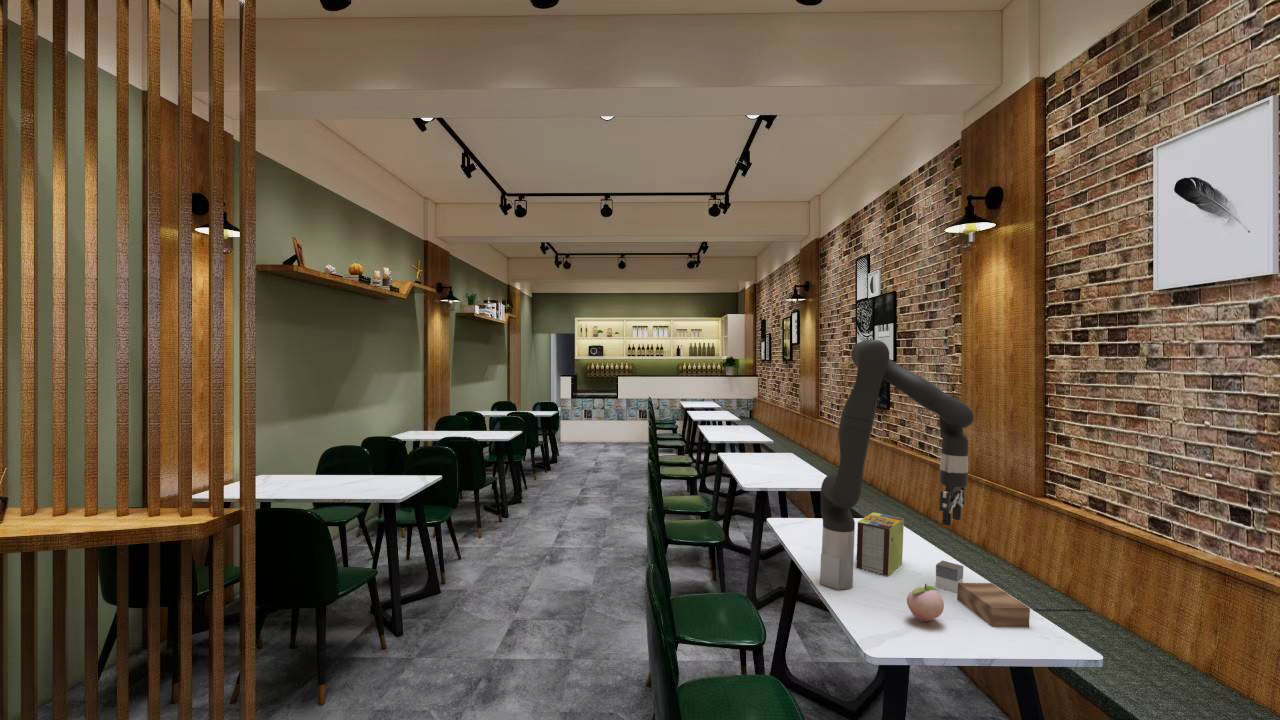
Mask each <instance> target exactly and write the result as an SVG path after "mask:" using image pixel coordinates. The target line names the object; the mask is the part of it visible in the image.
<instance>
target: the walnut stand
mask: <svg viewBox="0 0 1280 720" xmlns="http://www.w3.org/2000/svg"><path fill="white" fill-rule="evenodd" d="M956 594H957V597H956V598H957V599H956V600H957V602H959V603H961V604H962V606H965V608H967V609H969V610H970V611H971V612H972V613H974V614H975V615H976V616H978V617H979V618H981V620H983V621H984V622H985V623H986V624H988V625H989V626H990V627H997V628H998V627H1006V628H1008V627H1009V628H1011V627H1012V628H1015V627H1017V628H1030V617H1031V615H1030V614H1031V608H1030V607H1029V606H1027V605H1026V604H1024V603H1022V601H1020V600H1019V599H1017V598H1015V597H1014V596H1012V595H1010V594H1009V593H1007V591H1005V590H1003V589H1001V588H1000V587H998V586H997V585H995V584H994V583H991V582H989V583H988V582H963V583H958V591H957V593H956Z"/></svg>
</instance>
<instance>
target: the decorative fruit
mask: <svg viewBox="0 0 1280 720" xmlns="http://www.w3.org/2000/svg"><path fill="white" fill-rule="evenodd" d="M906 604H907V607H908V609H909V610H910V612H911V613H912V615H913V616H915V617H916V618H917V619H918V620H921V621H922V622H927V621H932V620H935V619H937V618H939V617H940V616H942V614H943V612H944V610H945V609H944V607H945V603H944V599H943V597H942V595H941V594H940V593H939V592H938V589H937V587H934V586H932V585H927V583H925V584H924V586H920V587H919V586H918V587H917V588H915V589H912V590H911V591H909V593H908V595H907V597H906Z"/></svg>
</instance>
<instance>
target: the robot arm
mask: <svg viewBox="0 0 1280 720" xmlns="http://www.w3.org/2000/svg"><path fill="white" fill-rule="evenodd" d="M850 358H851V360H852V362H853V364H854V365H855V366H856V367H857V370H856V371H857V373H856V378H855V381H854V382H855V383H854V386H853V387H852V390H851V392H850V394H849V395H848V398H847V400H846V402H845V404H844V406H843V409H842V412H841V417H840V421H839V425H838V435H837V436H838V445H839V456H840V457H839V464H838V469H837V472H832V473H830V474H828V475H826V476H825V478H823V481H822V483H821V487H820V514H821V519H822V538H821V541H822V542H821V553H820V567H819V568H820V569H819V571H820V574H819V584H820V585H822V584H823V586H826V587H828V588H831V589H834V590H837V591H840V590H848V589H851V588H852V587H853V582H854V555H855V554H854V553H855V534H856V533H855V531H856V529H855V527H856V522H855V519H854V517H853V515H852V512H851V509H852V508H854V507H855V506H856V505H857V503H858V502H859V500H860V497H861V493H862V483H863V474H864V468H865V466H864V465H865V462H866V457H867V452H868V448H869V442H870V438H871V434H872V430H873V427H874V426H873V425H874V421H875V415H876V409H877V405H878V399H879V394H880V390H881V385H882V382H883V380H884V381H885V382H887V383H889V384H890V385H892V386H893V387H895V388H896V389H897V390H899V391H900V392H902V393H903V394H904V395H906V396H907V397H909V398H910V399H911V400H913V401H914V402H916V403H917V404H919V405H920V406H921V407H924V408H925V409H927V410H928V411H931V412H932V413H935V414H936V415H938V421H939V422H938V423H939V429H940V434H941V438H942V439H941V440H942V441H941V456H940V461H939V462H940V463H939V479H938V480H939V483H940V484H941V485H942V486H943V485H944V486H945V488H944V490H940V491H939V492H940V495H939V496H940V497H939V509H938V510H939V511H940V512H942V523H941V524H942V525H943V526H949V527H950V526H952V519H953V520H954V521H955V520H956V521H960V520H961V519H962V508H963V506H965V504H966V487H967V486H968V485H969V484H968V483H969V481H968V480H969V439H968V437H967V436H966V435H965V434H964V428H967V427H970V426H971V425H972V423H973V422H974V419H975V416H974V412H973V411H972V409H971V408H970V407H969V406H968V405H967V404H965V403H963V402H961V401H960V400H959V399H956V398H955V397H953V396H951V395H948V394H947V393H946V392H944V391H942V389H940V388H939V387H937V386H936V385H934V384H933V383H932V382H930V381H928V380H927V379H925V378H923V377H922V376H920V375H918V374H916V373H914V372H913V371H911V370H908V369H907V368H904V367H902V366H901V365H900V364H897V362H895V361H894V360H892V359H890V350H889V347H888V346H887V344H886V343H885V342H884V341H882V340H879V339H867V340H862V341H858V342H857V343H856V344H855V345H853V347H852V349H851V351H850Z"/></svg>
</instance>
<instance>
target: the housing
mask: <svg viewBox="0 0 1280 720" xmlns="http://www.w3.org/2000/svg"><path fill="white" fill-rule="evenodd" d="M958 583H964V565H961V564H958V563H953V562H950V561H946V560H943V559H942V560H941V561H939V562H938V563H936V565H935V587H934V588H937V587H938V589H942V590H944V591H948V592H951V593H955V594H957V591H958Z"/></svg>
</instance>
